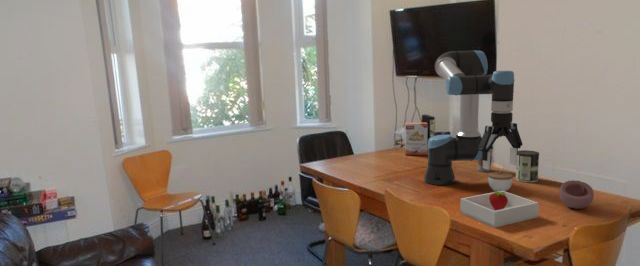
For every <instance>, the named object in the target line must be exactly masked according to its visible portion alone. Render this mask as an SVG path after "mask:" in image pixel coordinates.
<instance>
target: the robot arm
mask: <svg viewBox="0 0 640 266" xmlns="http://www.w3.org/2000/svg"><path fill="white" fill-rule="evenodd" d="M488 65H489V64H488V59H487V55H486V53H485V51H482V50H475V49H474V50H473V49H472V50H456V51H455V50H452V51H451V50H450V51H447V52H444V53H443V54H441V55H440V56H438V58H437V59H436V61H435V63H434V71H435V72H436V74H437V75H438V76H439V77H441V78H443V79H444V80H445V90H446V93H447V94H448V95H450V96H460V100H459V104H460V105H459V130H458V131H457V132H456V133H455V135H456V136H455V137H453V135H451V134H437V135H433V136H431V137H429V138H428V139H427V167H426V171H425V174H424V177H423V178H424V179H423V180H424V181H423V182H425V183H426V184H430V185H436V186H447V185H449V186H450V185H453V184H455V183H456V175H455V173H454V170H453V167H452V166H453V164H452V163H453V162H460V161H462V162H464V161H465V162H466V161H467V162H473V161H477V160H480V159H481V158H482V160H483V168H484V169H488V170H489V169H490V152H488V151H489V150H490V148H491V147H492V146H494V143H496V140H497V139H499V138H501V137H505V138H506V140H507V141H508V143H509V145H510V146H511V147H510V149H509V164H510V165H514V166H516V163H517V155H518V151H519V149H520V148H521V147H522V146H523V142H522V141H523V140H522V138H521V136H520V133H519V129H518V123H517V122H516V123H514V122H513V116H514V115H513V109H514V92H515V91H514V88H515V73H514V71H512V70H495V71H493V73H492V74H488V70H489V67H488ZM480 95H491V106H490V107H491V111H492V112H491V113H490V121H491V125H485V127H484V132H483V134H481V133H480V132H479V104H480Z"/></svg>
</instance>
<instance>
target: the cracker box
mask: <svg viewBox="0 0 640 266" xmlns="http://www.w3.org/2000/svg"><path fill="white" fill-rule="evenodd" d="M404 126H405V129H404V130H405V135H404V137H405V139H404V144H405V145H404V146H405V147H404V149H405V150H404V155H405V156H428V128H429V123H428V122H405V125H404Z"/></svg>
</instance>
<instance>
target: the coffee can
mask: <svg viewBox="0 0 640 266" xmlns="http://www.w3.org/2000/svg"><path fill="white" fill-rule="evenodd" d="M539 158H540V152H538V151H535V150H525V149H524V150H518V155H517V163H516V165H515V180H516V181H518V182H523V183H537V182H538V181H539V161H540V160H539Z"/></svg>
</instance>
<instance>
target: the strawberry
mask: <svg viewBox="0 0 640 266" xmlns="http://www.w3.org/2000/svg"><path fill="white" fill-rule="evenodd" d="M500 189H501V188H500ZM493 192H494V193H492V192H491V193H492V194H491V195H490V197H489V200H490V204H491V205H492V207H493V208H494V210H495V211H496V210H501V209H504V208H505V207H506V205H507V202H508V199H507V197H506V196H505V194H503V193H505V192H501V193H500V192H495V191H493Z"/></svg>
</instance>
